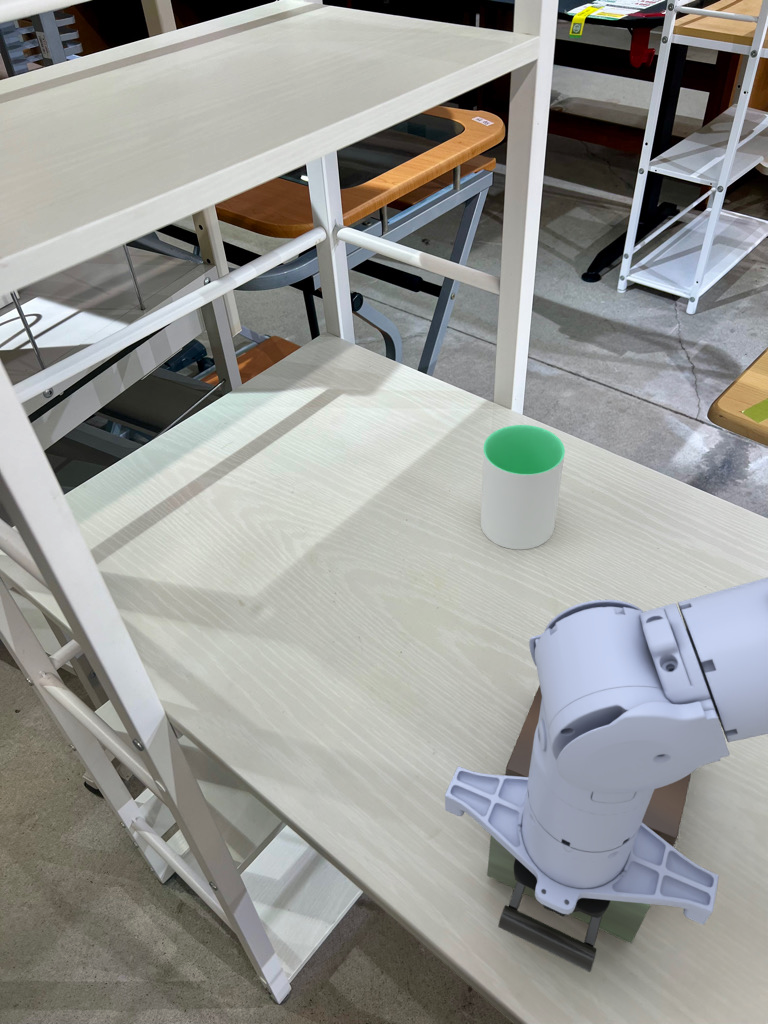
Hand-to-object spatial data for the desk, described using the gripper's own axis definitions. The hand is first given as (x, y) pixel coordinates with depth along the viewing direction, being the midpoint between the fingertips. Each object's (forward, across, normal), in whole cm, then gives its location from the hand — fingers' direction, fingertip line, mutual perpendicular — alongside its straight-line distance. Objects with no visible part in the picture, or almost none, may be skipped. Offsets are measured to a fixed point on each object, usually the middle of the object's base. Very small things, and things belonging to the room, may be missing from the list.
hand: (558, 896), depth 47 cm
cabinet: (+8, 0, +13) cm, 15 cm away
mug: (+8, -16, +40) cm, 44 cm away
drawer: (+7, 0, +5) cm, 9 cm away
